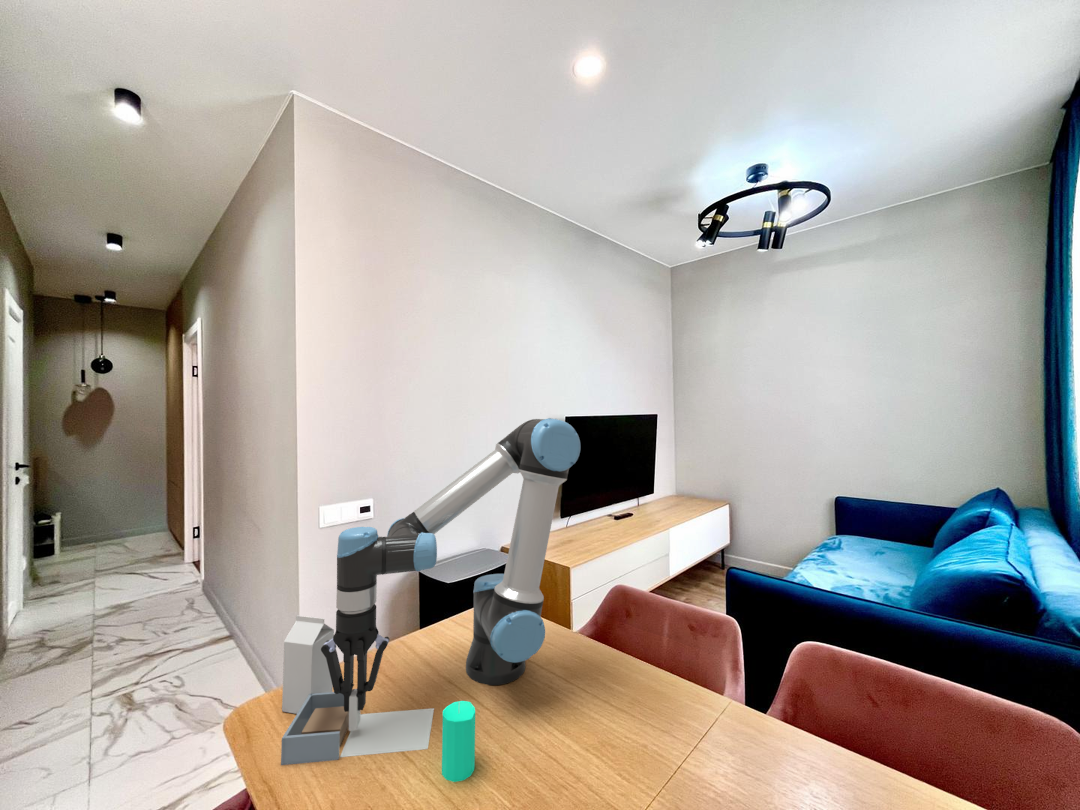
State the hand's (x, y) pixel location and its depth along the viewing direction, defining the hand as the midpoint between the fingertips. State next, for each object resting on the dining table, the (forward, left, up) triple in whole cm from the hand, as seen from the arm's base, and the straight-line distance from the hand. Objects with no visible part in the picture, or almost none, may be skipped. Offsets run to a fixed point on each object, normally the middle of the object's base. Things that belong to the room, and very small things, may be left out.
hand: (354, 725), depth 88 cm
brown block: (+5, 0, -2) cm, 6 cm away
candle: (-21, +12, -2) cm, 24 cm away
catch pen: (+6, 0, -2) cm, 6 cm away
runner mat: (-7, 0, -2) cm, 7 cm away
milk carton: (+13, -11, -2) cm, 17 cm away
